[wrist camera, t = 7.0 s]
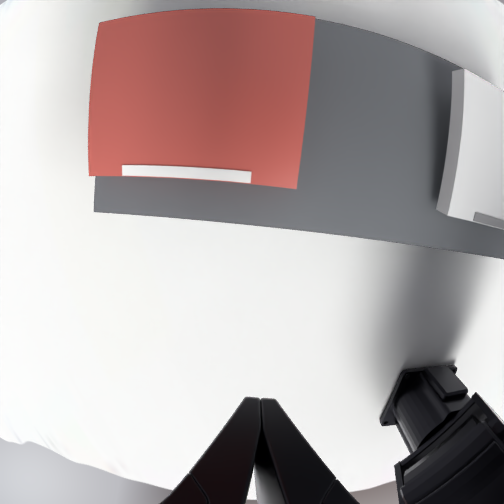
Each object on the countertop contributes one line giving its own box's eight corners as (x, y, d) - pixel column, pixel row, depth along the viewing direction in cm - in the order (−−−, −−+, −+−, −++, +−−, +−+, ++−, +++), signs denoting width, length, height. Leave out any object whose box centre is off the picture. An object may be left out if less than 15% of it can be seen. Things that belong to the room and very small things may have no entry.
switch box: (491, 251, 18) (528, 265, 14) (123, 206, 18) (86, 213, 13) (500, 116, 16) (536, 109, 11) (147, 43, 16) (121, 13, 11)
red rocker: (293, 183, 13) (296, 189, 12) (100, 171, 13) (88, 176, 12) (311, 24, 10) (315, 16, 9) (110, 28, 10) (98, 22, 9)
